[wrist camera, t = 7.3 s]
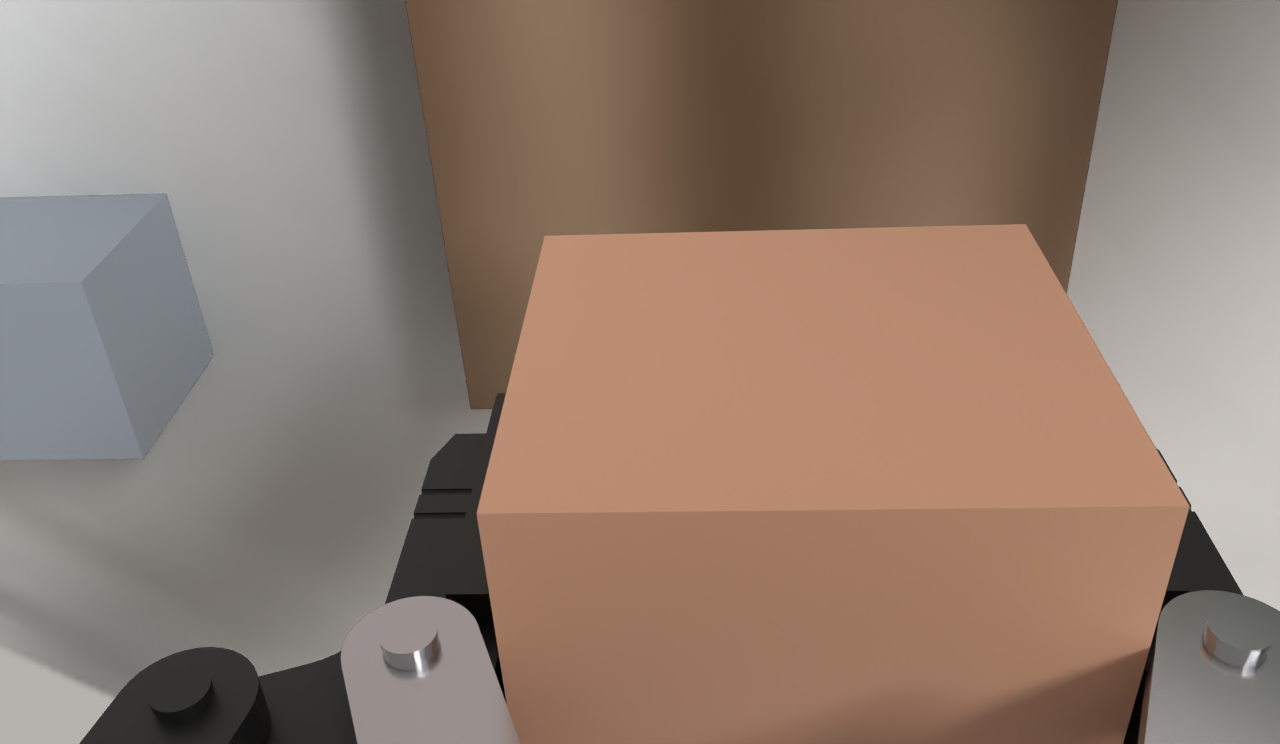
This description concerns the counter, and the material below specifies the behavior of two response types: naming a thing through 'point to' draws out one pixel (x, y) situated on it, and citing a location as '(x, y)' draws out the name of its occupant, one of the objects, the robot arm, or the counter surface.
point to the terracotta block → (819, 496)
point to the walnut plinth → (742, 127)
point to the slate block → (93, 326)
